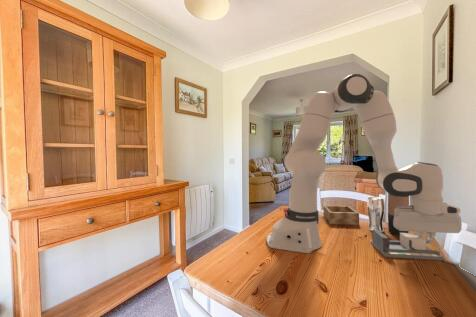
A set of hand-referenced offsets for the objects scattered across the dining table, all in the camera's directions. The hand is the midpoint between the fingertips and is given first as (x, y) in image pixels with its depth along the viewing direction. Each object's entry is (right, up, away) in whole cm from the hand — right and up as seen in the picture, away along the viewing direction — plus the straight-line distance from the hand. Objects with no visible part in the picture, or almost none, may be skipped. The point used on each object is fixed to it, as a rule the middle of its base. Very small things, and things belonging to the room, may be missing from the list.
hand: (425, 243), depth 75 cm
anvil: (-15, -3, +3) cm, 15 cm away
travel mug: (+4, -3, +18) cm, 18 cm away
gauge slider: (-5, -2, 0) cm, 5 cm away
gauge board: (-7, -4, +1) cm, 8 cm away
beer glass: (-3, -3, +22) cm, 23 cm away
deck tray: (-13, -3, +37) cm, 39 cm away
